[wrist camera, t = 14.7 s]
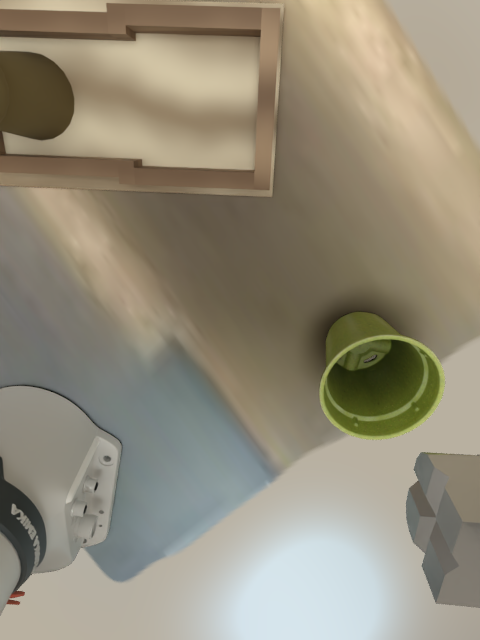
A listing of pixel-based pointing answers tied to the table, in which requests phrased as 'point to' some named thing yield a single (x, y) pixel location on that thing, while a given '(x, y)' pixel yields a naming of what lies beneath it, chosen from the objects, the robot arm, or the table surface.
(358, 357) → the plant pot
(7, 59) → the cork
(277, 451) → the table surface
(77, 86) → the wooden tray
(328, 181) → the table surface
